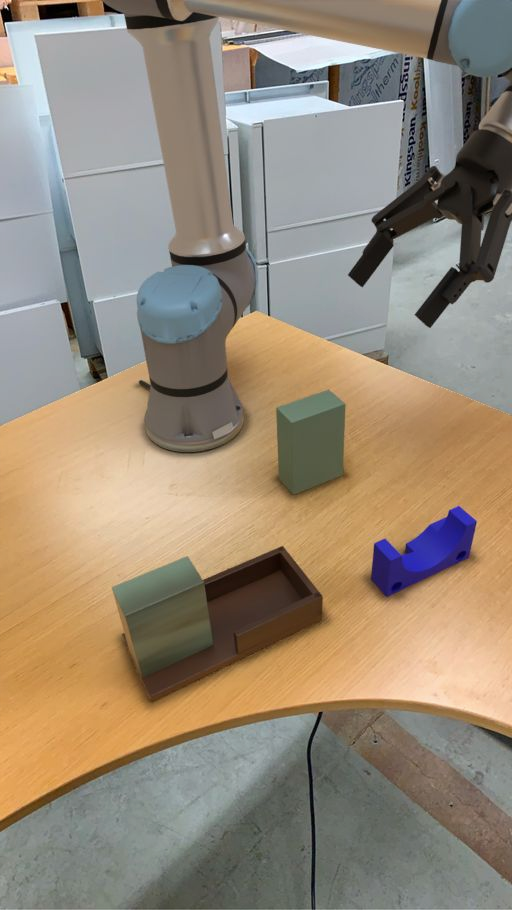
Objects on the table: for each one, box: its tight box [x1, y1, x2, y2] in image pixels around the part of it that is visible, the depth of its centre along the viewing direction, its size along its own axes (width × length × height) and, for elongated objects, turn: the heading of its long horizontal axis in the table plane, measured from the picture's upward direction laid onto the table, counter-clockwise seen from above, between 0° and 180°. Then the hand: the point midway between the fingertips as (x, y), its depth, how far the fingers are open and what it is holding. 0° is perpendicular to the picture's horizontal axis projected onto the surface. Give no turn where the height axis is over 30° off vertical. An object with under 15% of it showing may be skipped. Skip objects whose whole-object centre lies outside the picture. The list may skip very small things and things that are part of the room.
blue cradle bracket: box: [370, 505, 478, 598], centre depth 76 cm, size 12×4×6 cm, turn 117°
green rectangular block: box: [275, 389, 347, 496], centre depth 87 cm, size 4×8×12 cm, turn 118°
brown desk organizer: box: [111, 545, 324, 703], centre depth 68 cm, size 9×20×11 cm, turn 118°
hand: (386, 300), depth 80 cm, fingers open, 13 cm apart
